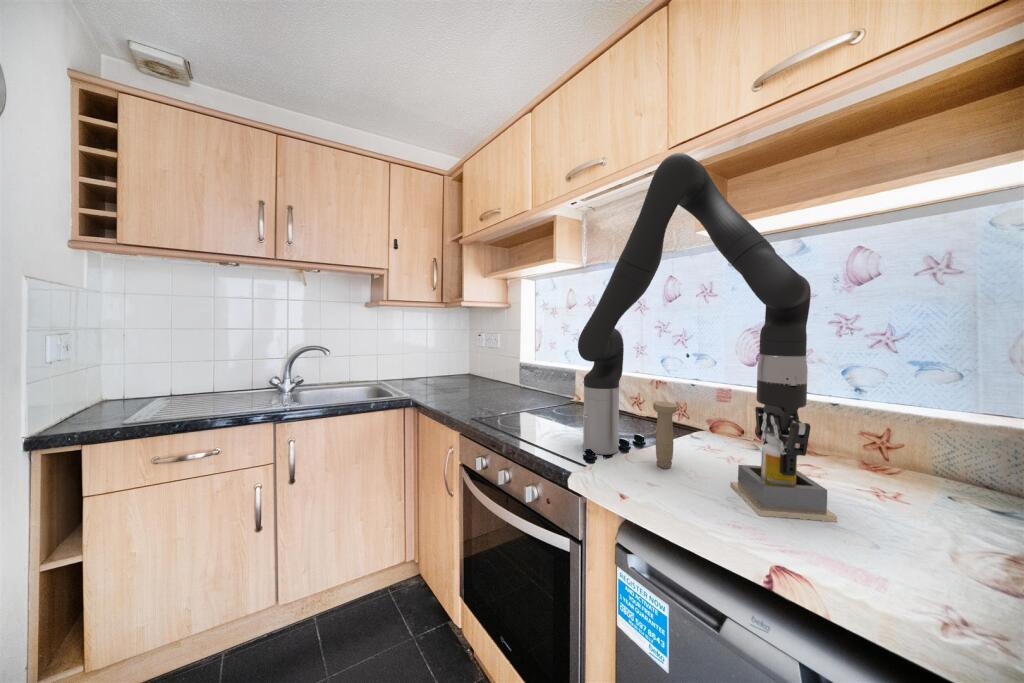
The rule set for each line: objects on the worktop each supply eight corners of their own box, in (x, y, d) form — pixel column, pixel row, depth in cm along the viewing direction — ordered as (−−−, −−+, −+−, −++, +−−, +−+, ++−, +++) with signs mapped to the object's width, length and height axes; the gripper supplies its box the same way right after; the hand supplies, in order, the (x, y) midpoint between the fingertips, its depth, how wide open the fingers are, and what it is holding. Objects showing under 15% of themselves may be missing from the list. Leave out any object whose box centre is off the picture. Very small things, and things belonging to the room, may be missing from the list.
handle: (670, 461, 89) (671, 401, 89) (679, 472, 83) (680, 407, 82) (649, 461, 90) (650, 401, 89) (657, 471, 83) (658, 406, 83)
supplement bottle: (803, 493, 66) (805, 440, 65) (771, 492, 66) (773, 439, 66) (783, 480, 71) (785, 431, 71) (754, 479, 71) (756, 431, 71)
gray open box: (759, 515, 64) (760, 487, 63) (730, 486, 75) (730, 462, 75) (837, 521, 62) (838, 493, 61) (794, 490, 73) (795, 466, 73)
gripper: (741, 373, 75) (739, 454, 76) (780, 384, 61) (777, 483, 62) (782, 374, 74) (779, 456, 75) (830, 386, 60) (827, 486, 61)
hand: (778, 468), depth 68 cm, fingers closed on supplement bottle, 5 cm apart
